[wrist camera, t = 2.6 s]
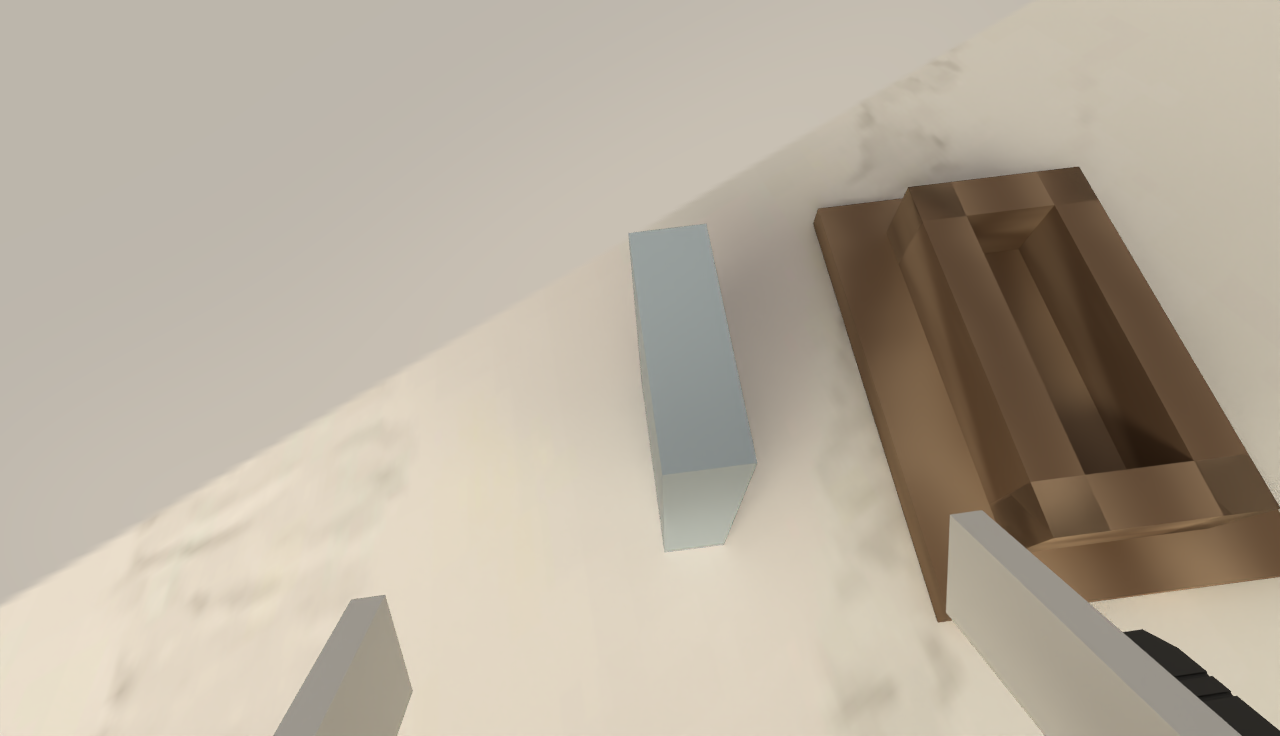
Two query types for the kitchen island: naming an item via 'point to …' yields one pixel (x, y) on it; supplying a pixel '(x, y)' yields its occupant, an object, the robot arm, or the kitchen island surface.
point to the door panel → (689, 387)
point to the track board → (1042, 389)
